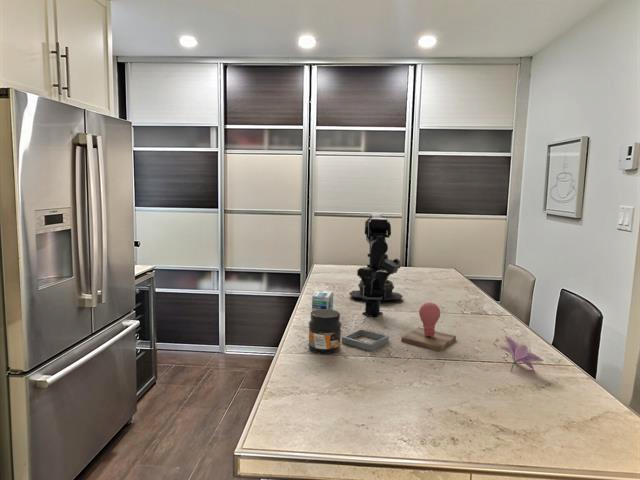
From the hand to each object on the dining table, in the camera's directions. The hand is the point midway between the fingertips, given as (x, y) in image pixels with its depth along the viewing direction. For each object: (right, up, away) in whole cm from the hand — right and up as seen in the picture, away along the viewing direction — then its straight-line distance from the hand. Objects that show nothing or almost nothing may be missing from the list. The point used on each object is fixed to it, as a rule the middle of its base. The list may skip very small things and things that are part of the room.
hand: (375, 292), depth 168 cm
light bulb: (+17, -14, -14) cm, 26 cm away
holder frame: (-6, -15, -17) cm, 23 cm away
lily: (+38, -19, -36) cm, 56 cm away
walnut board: (+17, -15, -14) cm, 26 cm away
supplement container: (-20, -16, -24) cm, 35 cm away
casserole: (+5, -8, +41) cm, 42 cm away
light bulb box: (-20, -12, +7) cm, 25 cm away
